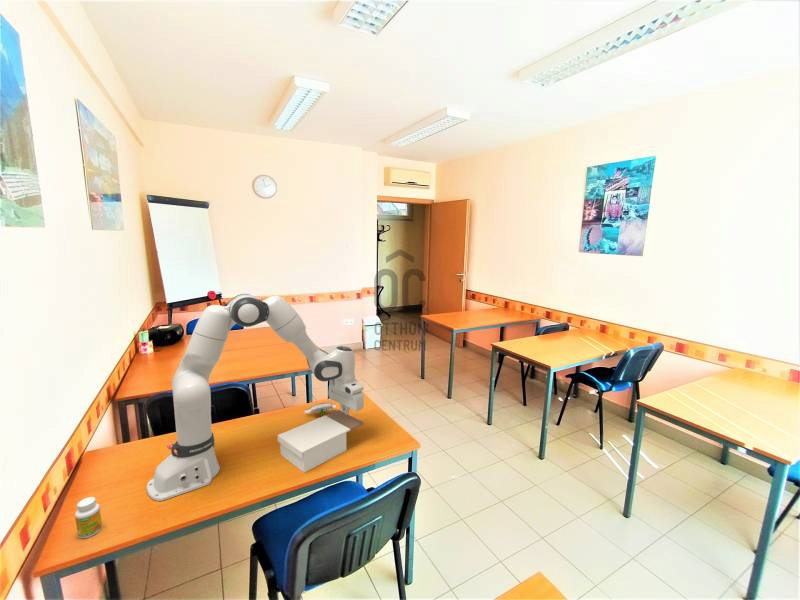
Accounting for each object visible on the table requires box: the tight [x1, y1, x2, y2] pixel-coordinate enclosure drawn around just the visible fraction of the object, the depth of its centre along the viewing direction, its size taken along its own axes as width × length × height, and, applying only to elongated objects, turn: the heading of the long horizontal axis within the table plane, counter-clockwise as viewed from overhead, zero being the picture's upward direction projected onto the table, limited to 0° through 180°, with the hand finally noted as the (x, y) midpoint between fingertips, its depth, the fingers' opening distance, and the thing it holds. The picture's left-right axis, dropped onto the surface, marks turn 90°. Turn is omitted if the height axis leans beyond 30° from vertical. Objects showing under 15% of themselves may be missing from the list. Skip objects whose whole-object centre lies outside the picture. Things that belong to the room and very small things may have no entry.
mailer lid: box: [277, 409, 365, 459], centre depth 147 cm, size 30×17×3 cm, turn 138°
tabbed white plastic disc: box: [304, 401, 337, 417], centre depth 175 cm, size 15×8×11 cm
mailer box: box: [279, 432, 348, 473], centre depth 144 cm, size 20×17×8 cm
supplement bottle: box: [74, 496, 103, 539], centre depth 104 cm, size 5×5×10 cm
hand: (345, 413), depth 155 cm, fingers closed
